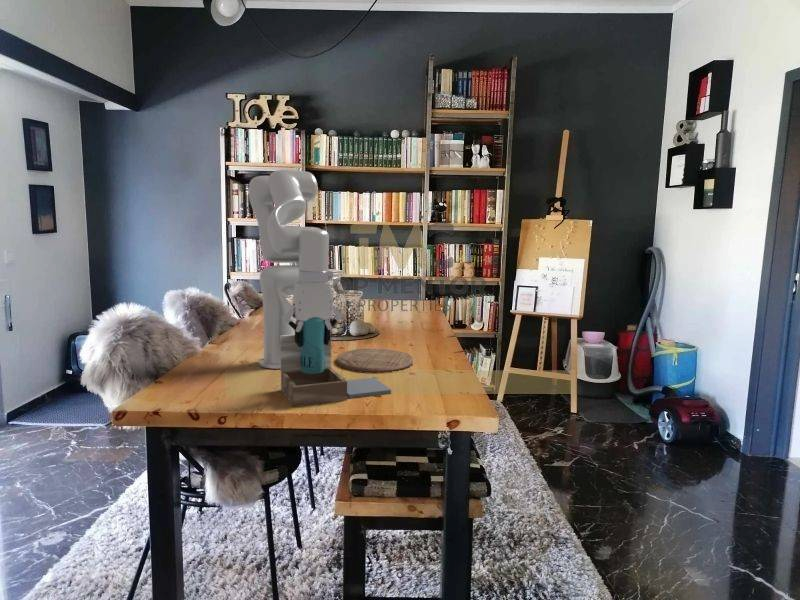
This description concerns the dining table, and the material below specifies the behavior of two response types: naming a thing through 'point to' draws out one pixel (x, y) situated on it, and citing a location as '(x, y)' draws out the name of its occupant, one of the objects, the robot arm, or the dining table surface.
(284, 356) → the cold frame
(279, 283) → the robot arm
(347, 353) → the trivet
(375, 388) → the slate mat
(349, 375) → the dining table surface
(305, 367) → the beverage bottle
